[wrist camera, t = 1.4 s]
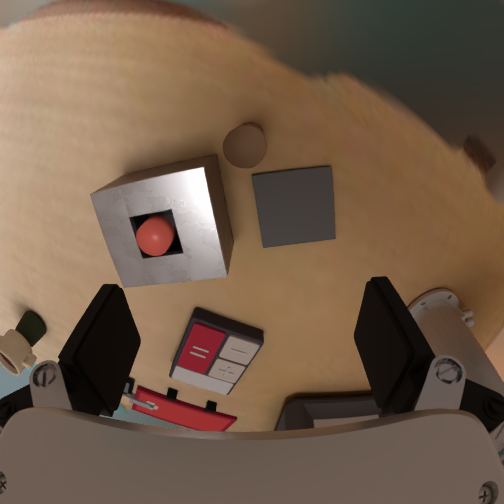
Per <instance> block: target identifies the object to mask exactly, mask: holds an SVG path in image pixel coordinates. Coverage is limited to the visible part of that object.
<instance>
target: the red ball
mask: <svg viewBox="0 0 504 504" xmlns="http://www.w3.org/2000/svg"><path fill="white" fill-rule="evenodd" d="M177 232H178V231H177V227H176V223H175V220H174V218H173V217H172V216H171V215H170V214H168V213H166V212H155V213H153V214H152V215H151V216H150V217H149V218H148V219H147V220H146V221H145V222H144V223H143V224H142V225H141V226H140V228H139V229H138V231H137V234H136V240H137V243H138V245H139V247H140V248H141V250H142V251H144V252H145V253H147V254H149V255H152V256H159V255H162V254H164V253H165V252H166V251H167V250H168V248H169V246H170V245H171V243H172V242H173V240H174V238H175V237H176V235H177Z"/></svg>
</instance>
